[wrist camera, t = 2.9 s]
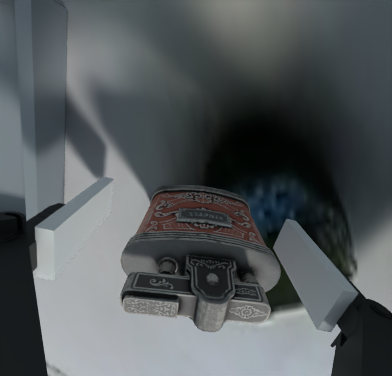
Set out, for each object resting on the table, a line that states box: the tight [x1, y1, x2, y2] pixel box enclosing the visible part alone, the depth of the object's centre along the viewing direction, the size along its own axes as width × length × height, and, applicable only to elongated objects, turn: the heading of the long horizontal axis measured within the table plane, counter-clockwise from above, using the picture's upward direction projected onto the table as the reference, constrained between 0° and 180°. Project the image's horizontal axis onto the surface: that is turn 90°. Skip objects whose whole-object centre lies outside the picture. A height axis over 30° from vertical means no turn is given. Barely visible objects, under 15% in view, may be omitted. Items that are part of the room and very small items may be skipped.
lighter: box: [120, 185, 281, 332], centre depth 13 cm, size 8×3×10 cm, turn 83°
